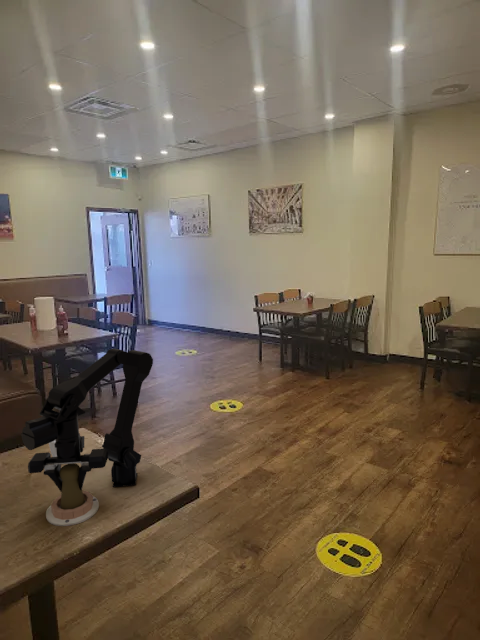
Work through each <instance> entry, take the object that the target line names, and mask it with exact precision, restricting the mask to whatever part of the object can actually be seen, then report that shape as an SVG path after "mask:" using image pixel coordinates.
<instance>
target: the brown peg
mask: <svg viewBox="0 0 480 640" xmlns="http://www.w3.org/2000/svg"><path fill="white" fill-rule="evenodd" d="M80 467H81V465H79V463H72V464H63V466H61V469H60V472H59V475H60V478H61V479H62V491H60V492H61V493H60V495H61V507H60V508H61V509H64V510H67V509H74V508H77V507H80V506H82V505H83V504H84V503H85V500H84V496H83V492H82V490H83V489H82V490H80V488H79V469H80Z"/></svg>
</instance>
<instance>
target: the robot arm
mask: <svg viewBox="0 0 480 640" xmlns="http://www.w3.org/2000/svg"><path fill="white" fill-rule="evenodd" d="M153 364H154V358H153V357H152V355H151V353H149V352H145V351H139V350H133V349H130V350H129V351H125V350H123V349H118V348H110V349H108V350H107V351H106V353H105V354H104V355H102V356H101V357H100V358H98V359H97V360H96V361H94V362H93V363H92V364H91V365H89V367H87V368H86V369H84V370H83V371H82V372H80V374H78V375H77V376H75V377H73V378H72V379H71V378H70V379H68V380H64V381H62V382H61V383H59V384H57V385H55V386H54V387H52V388H51V389H50V390H49V392H48V397H47V399H46V401H45V403H44V405H43V407H42V408H41V410H40V412H39V416H41V417H38V418H34V419H30V420H27V421H25V422H24V427H23V428H22V431H21V439H22V443H23V445H24V447H25V448H26V449H27V450H29V451H32V450H35V449H38V448H41V447H42V446H45V445H47V444H48V445H49V443H50V442H53V441H54V440H55V441H56V442H55V448H56V452H57V457H52V454H51V452H48V451H47V452H36V453H35V454H34V455H32V457H31V459H30V460H29V461H28V464H27V470H28V474H36V473H37V474H39V473H42V472H43V475H44V476H48V477H49V478H50V480H52V481H53V483H54V484H55V486H56V487H57V488H58V490H59V491H60V492H61V491H62V479H61V478H60V475H59V472H60V469H61V468H62V465H66V464H72V463H75V464H80V469H79V488H80V490H83V487H84V482H85V478H86V475H87V473H89V472H91V471H92V469H103V468H104V467H106V464H107V461H109V462H113V463H112V466H111V468H110V472H111V482H112V488H119V487H131V486H137V480H138V473H137V464H139V463H140V462H141V458H142V454H140V453H139V452H137V451H135V449H134V448H135V447H134V446H135V440H134V436H133V432H132V430H133V425H134V421H135V417H136V412H137V408H138V403H139V398H140V393H141V390H142V385H143V382H144V381H145V380H146V379H147V377H148V376H149V375H150V373H151V370H152V367H153V366H154V365H153ZM120 365H122V372H123V374H124V375H123V376H124V384H123V389H122V394H121V398H120V402H119V407H118V411H117V415H116V418H115V419H116V420H115V424H114V428H113V429H112V430H111V432H110V433H105V434H104V440H103V444H102V445H101V448H92V449H91V452H89V453H85V454H81V453H83V451H84V448H85V435H81V434H80V431H79V430H80V429H79V416H81V415H84V414H85V413H86V411H85V410H84V409H82V408H81V407H80V405H82V403H83V402H84V401H85V400H86V398H87V395H88V393H89V391H91V389H93V388H94V387H95V386H96V385H97V384H99V383H100V382H101V381H102V380H103V379H105V378H106V377H107V376H108V375H109V374H111V372H113V371H115V370H116V369H117V367H119V366H120ZM54 409H56V410H54ZM57 410H59V412H58V411H57Z"/></svg>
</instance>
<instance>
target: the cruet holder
mask: <svg viewBox="0 0 480 640" xmlns="http://www.w3.org/2000/svg"><path fill="white" fill-rule="evenodd" d="M82 492H83V496H84V500H85V503H84V504H83V505H82V506H80V507H77V508H74V509H67V510H64V509H61V508H60V507H61V494H59V495H58V496H57V497H56V498H54V499H53V500H52V503H51V504H50V505H49V507H48V508H47V509H46V512H45V517H46V520H47V522H48V523H49V524H51V525H53V526H58V527H69V526H74V525H79V524H80V523H84V522H85V521H87V520H89V519H91V518H92V517H94V515H95V514H96V513H97V512H98V511H99V507H100V503H99V500H98V498H97V497H96V496H94V495H93V494H92V493H91V492H90V491H88V490H83V489H82Z"/></svg>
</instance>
